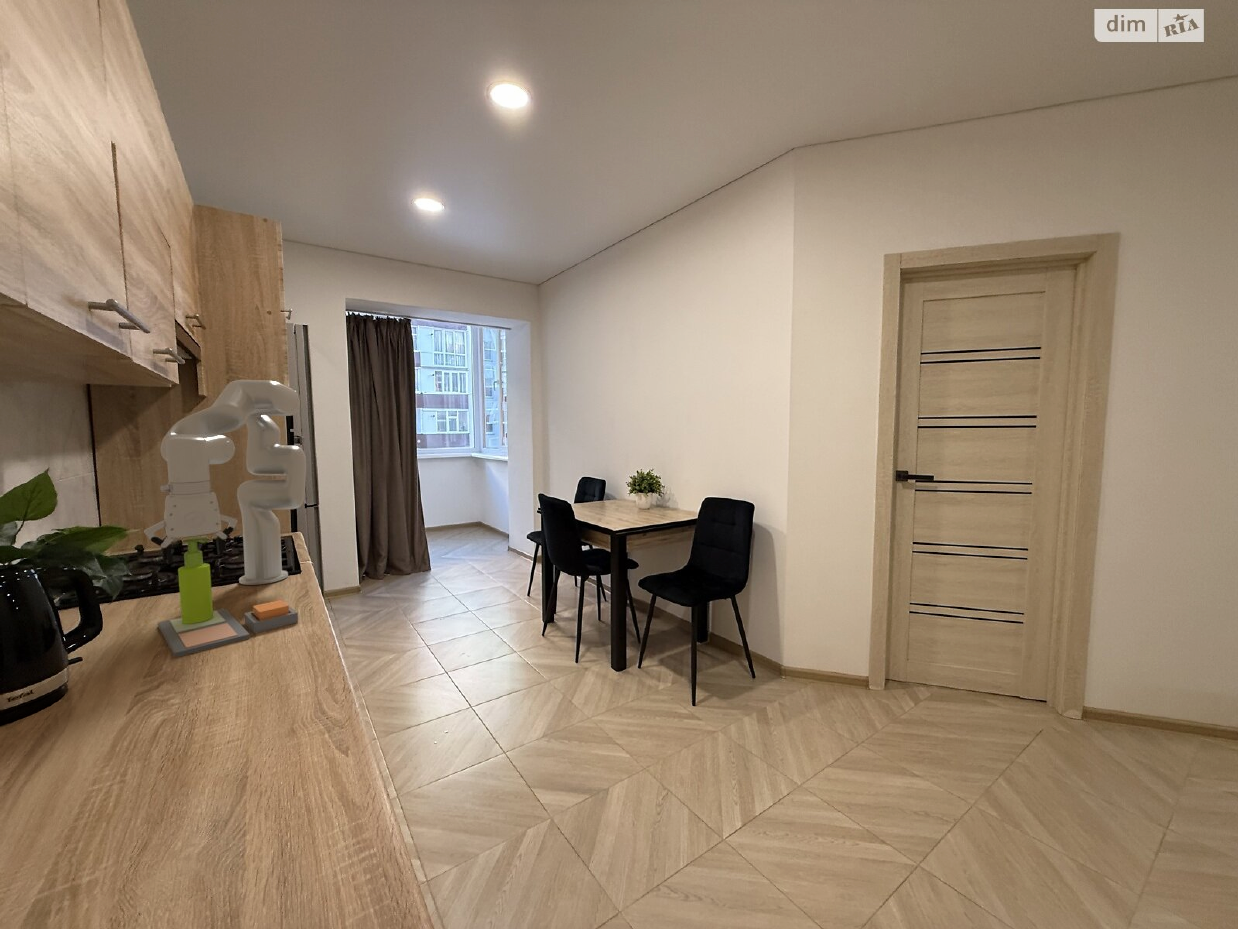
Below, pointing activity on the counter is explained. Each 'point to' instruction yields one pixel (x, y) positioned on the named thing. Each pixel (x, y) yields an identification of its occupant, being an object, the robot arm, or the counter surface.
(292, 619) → the button housing
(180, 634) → the gray board
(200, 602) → the soap dispenser
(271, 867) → the counter surface
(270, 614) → the button
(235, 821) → the counter surface
